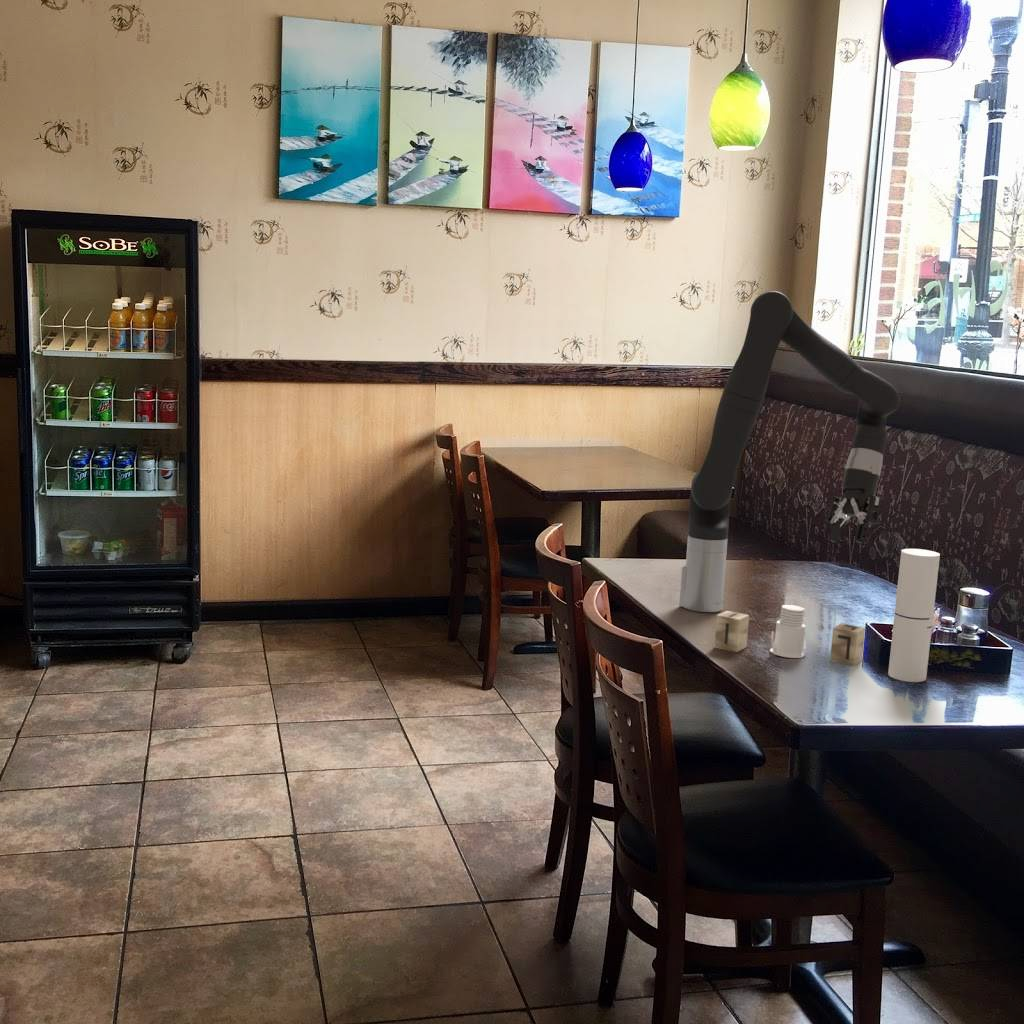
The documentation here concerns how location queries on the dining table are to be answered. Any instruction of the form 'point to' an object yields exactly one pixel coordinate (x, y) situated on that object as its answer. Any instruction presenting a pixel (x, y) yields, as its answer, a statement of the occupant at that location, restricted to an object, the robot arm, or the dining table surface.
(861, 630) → the birch block seven
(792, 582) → the dining table surface
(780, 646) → the downlight
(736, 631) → the birch block one
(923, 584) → the cylindrical container
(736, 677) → the dining table surface
